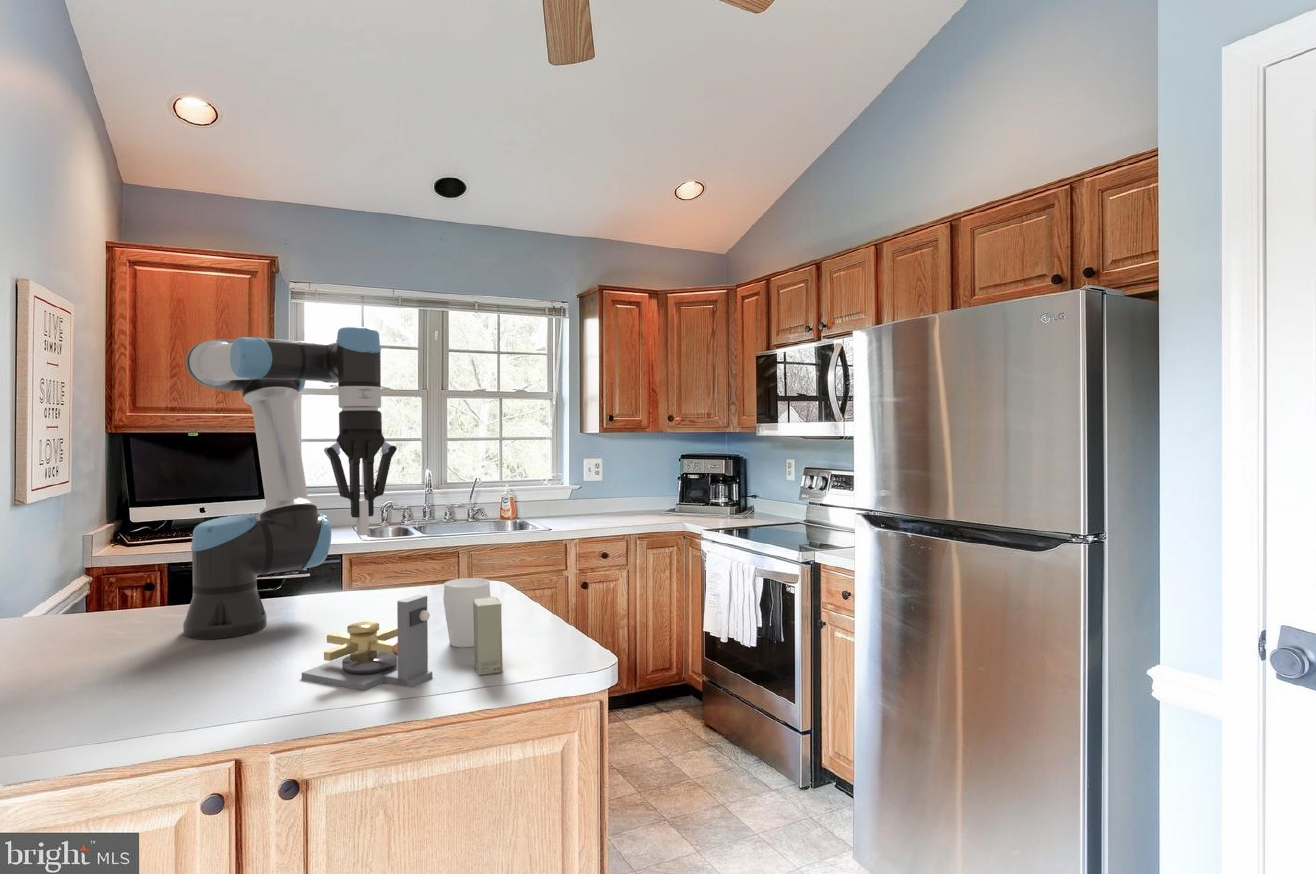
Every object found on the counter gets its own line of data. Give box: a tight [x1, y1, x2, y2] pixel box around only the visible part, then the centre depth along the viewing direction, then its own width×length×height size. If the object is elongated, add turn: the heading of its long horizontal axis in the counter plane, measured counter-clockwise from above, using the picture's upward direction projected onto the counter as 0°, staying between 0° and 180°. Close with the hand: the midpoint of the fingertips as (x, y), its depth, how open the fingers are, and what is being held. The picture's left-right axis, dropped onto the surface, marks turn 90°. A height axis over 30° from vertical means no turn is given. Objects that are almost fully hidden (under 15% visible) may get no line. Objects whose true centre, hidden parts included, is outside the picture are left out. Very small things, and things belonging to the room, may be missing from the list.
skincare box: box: [473, 596, 504, 676], centre depth 134 cm, size 6×4×12 cm
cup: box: [442, 577, 491, 649], centre depth 149 cm, size 9×9×12 cm
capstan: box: [323, 621, 398, 674], centre depth 132 cm, size 17×16×7 cm
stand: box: [301, 594, 433, 692], centre depth 131 cm, size 20×14×14 cm
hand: (362, 534), depth 143 cm, fingers closed
